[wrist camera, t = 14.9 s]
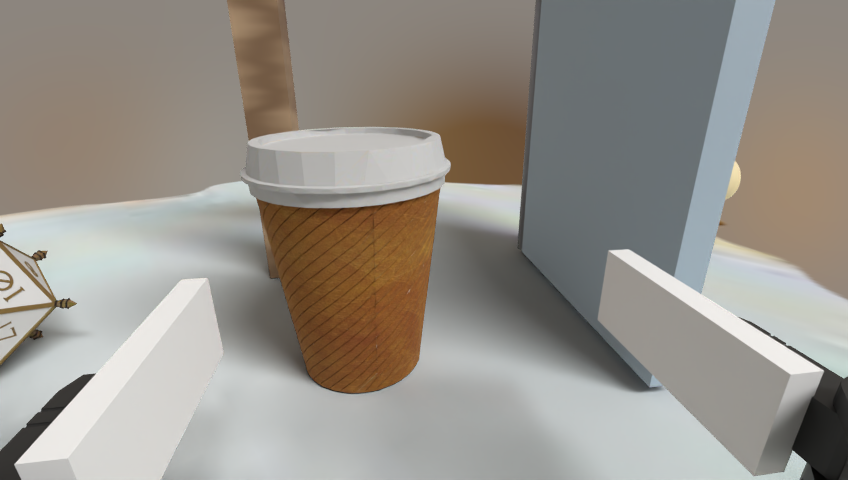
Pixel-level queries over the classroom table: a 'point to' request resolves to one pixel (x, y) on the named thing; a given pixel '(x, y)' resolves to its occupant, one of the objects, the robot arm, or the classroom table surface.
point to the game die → (22, 297)
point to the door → (634, 137)
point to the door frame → (264, 73)
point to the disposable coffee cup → (351, 243)
